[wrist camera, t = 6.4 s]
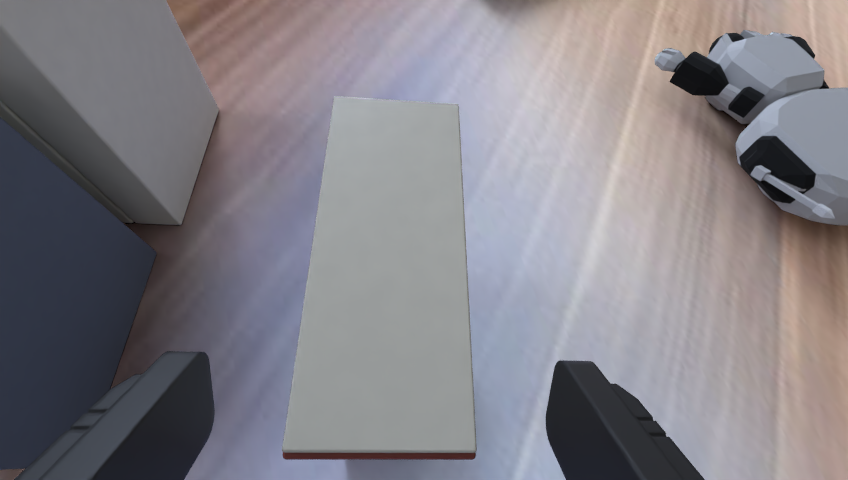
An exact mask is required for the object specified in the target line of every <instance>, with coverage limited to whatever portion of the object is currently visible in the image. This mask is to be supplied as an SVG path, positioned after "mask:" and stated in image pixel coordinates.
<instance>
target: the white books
mask: <svg viewBox="0 0 848 480" xmlns="http://www.w3.org/2000/svg"><path fill="white" fill-rule="evenodd" d="M218 111H219V108H218V106H217V104H216V102H215V100H214V98H213V96H212V94H211V91H210V89H209V87H208V85H207V83H206V81H205V79H204V77H203V75H202V73H201V71H200V69H199V67H198V65H197V63H196V61H195V59H194V57H193V55H192V53H191V51H190V49H189V47H188V44H187V42H186V40H185V38H184V36H183V34H182V32H181V30H180V28H179V26H178V24H177V22H176V20H175V18H174V16H173V14H172V12H171V10H170V8H169V6H168V4H167V2H166V0H0V117H1V118H2V119H3V120H5V121H6V122H7V123H8V124H9V125H10V126H11V127H13V128H14V129H15V130H16V131H17V132H18V133H20V134H21V135H22V136H23V137H24V138H25V139H26V140H28V141H29V142H30V143H31V144H32V145H33V146H35V147H36V148H37V149H38V150H39V151H40V152H41V153H43V154H44V155H45V156H46V157H47V158H48V159H50V160H51V161H52V162H53V163H54V164H55V165H56V166H58V167H59V168H60V169H61V170H62V171H63V172H65V173H66V174H67V175H68V176H69V177H70V178H72V179H73V180H74V181H75V182H76V183H77V184H78V185H80V186H81V187H82V188H83V189H84V190H85V191H87V192H88V193H89V194H90V195H91V196H92V197H93V198H95V199H96V200H97V201H98V202H99V203H100V204H102V205H103V206H104V207H105V208H106V209H107V210H108V211H110V212H111V213H112V214H113V215H114V216H115V217H117V218H118V219H119V220H120V221H121V222H122V223H133V222H136V223H141V224H165V225H181V224H182V221H183V218H184V215H185V212H186V209H187V206H188V203H189V200H190V197H191V194H192V191H193V187H194V184H195V181H196V178H197V175H198V172H199V169H200V166H201V163H202V160H203V157H204V154H205V151H206V148H207V145H208V142H209V139H210V135H211V132H212V129H213V126H214V123H215V120H216V117H217V114H218Z"/></svg>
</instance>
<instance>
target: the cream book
mask: <svg viewBox="0 0 848 480" xmlns="http://www.w3.org/2000/svg"><path fill="white" fill-rule="evenodd" d="M476 450H477V448H476V429H475V410H474V391H473V372H472V352H471V333H470V314H469V295H468V276H467V256H466V237H465V218H464V199H463V180H462V160H461V141H460V122H459V106H458V104H448V103H433V102H417V101H402V100H387V99H371V98H356V97H341V96H335V97H334V100H333V107H332V114H331V121H330V127H329V134H328V141H327V148H326V154H325V161H324V168H323V175H322V182H321V188H320V195H319V202H318V209H317V215H316V222H315V229H314V236H313V242H312V249H311V256H310V263H309V270H308V276H307V283H306V290H305V297H304V303H303V310H302V317H301V324H300V331H299V337H298V344H297V351H296V358H295V364H294V371H293V378H292V385H291V392H290V398H289V405H288V412H287V419H286V425H285V432H284V439H283V446H282V451H283V458H284V459H444V460H472V459H474V458H475V456H476V454H475V452H476Z"/></svg>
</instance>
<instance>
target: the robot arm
mask: <svg viewBox="0 0 848 480" xmlns="http://www.w3.org/2000/svg"><path fill="white" fill-rule="evenodd" d="M213 422H214V400H213V391H212V383H211V374H210V365H209V359H208V356H207V354H206V353H205V352H184V351H167V352H165V353H164V354H162V355H161V356H160V357H159V358H158V359H157V360H156V361H155V362H154V363H153V364H152V365H151V366H150V367H149V368H148V369H147V370H146V371H145V372H144V373H143V374H136V375H134V376H132V377H131V378H129V379H127V380H125V381H124V382H122V383H120V384H119V385H117V386H115V387H113V388H112V389H110V390H108V391H107V392H106V393H105V394H104V395H103V396H102V397H101V398H100V399H99V400H98V401H97V402H96V403H95V404H94V405H93V406H91V407H90V408H89V409H88V413H84V414H83V415H82V416H81V417H80V418H79V419H78V420H77V421H76V422H74V423H73V424H72V425H71V428H70V430H69V431H65V432H64V433H63V434H62V435H61V436H60V437H59V438H58V439H56V440H55V441H54V442H53V443H52V444H51V445H50V446H49V447H48V448H47V449H46V450H45V451H44V452H43V453H42V454H41V455H39V456H38V457H37V458H36V459H35V460H34V461H33V462H32V463H31V464H30V465H29V466H28V467H27V468H26V469H25V470H24V471H23V472H21V473H20V474H19V475H18V476H17V477H16V478H15V479H14V480H184V479H185V477H186V475H187V474H188V472H189V470H190V468H191V467H192V465H193V463H194V462H195V460H196V458H197V457H198V455H199V453H200V452H201V450H202V448H203V447H204V445H205V443H206V442H207V440H208V438H209V435H210V433H211V430H212V426H213ZM546 430H547V436H548V440H549V443H550V445H551V447H552V449H553V452H554V454H555V456H556V458H557V461H558V463H559V465H560V467H561V469H562V472H563V474H564V476H565V478H566V480H704V478H703V477H702V476H701V475H700V474H699V472H698V471H697V470H696V469H695V468H694V466H693V465H692V464H691V463H690V462H689V460H688V459H687V458H686V457H685V455H684V454H683V453H682V452H681V451H680V449H679V448H678V447H677V446H676V445H675V443H674V442H673V441H672V440H671V439H670V437H666V433H665V431H664V430H663V429H662V428H661V427H660V425H659V424H658V423H657V422H656V421H653V417H652V416H651V415H650V413H649V412H648V411H647V410H646V409H645V407H644V406H643V405H642V404H641V403H640V401H639V400H638V399H637V398H635V397H634V396H633V395H631V394H630V393H628V392H627V391H626V390H624V389H623V388H621V387H620V386H619V385H617V384H610V383H609V381H608V380H607V379H606V378H605V376H604V375H603V374H602V372H601V371H600V370H599V369H598V367H597V366H596V365H595V364H594V363H593V362H591V361H558V362H557V363H556V365H555V369H554V374H553V379H552V385H551V390H550V396H549V401H548V406H547V412H546Z"/></svg>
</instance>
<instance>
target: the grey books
mask: <svg viewBox="0 0 848 480" xmlns="http://www.w3.org/2000/svg"><path fill="white" fill-rule="evenodd" d="M156 254H157V252H156V251H155V250H154V249H152V248H151V247H150V246H149V245H148V244H147V243H145V242H144V241H143V240H142V239H141V238H140V237H139V236H137V235H136V234H135V233H134V232H133V231H132V230H130V229H129V228H128V227H127V226H126V225H125V224H123V223H122V222H121V221H120V220H119V219H118V218H117V217H115V216H114V215H113V214H112V213H111V212H110V211H108V210H107V209H106V208H105V207H104V206H103V205H102V204H100V203H99V202H98V201H97V200H96V199H95V198H93V197H92V196H91V195H90V194H89V193H88V192H87V191H85V190H84V189H83V188H82V187H81V186H80V185H78V184H77V183H76V182H75V181H74V180H73V179H72V178H70V177H69V176H68V175H67V174H66V173H65V172H63V171H62V170H61V169H60V168H59V167H58V166H56V165H55V164H54V163H53V162H52V161H51V160H50V159H48V158H47V157H46V156H45V155H44V154H43V153H41V152H40V151H39V150H38V149H37V148H36V147H35V146H33V145H32V144H31V143H30V142H29V141H28V140H26V139H25V138H24V137H23V136H22V135H21V134H20V133H18V132H17V131H16V130H15V129H14V128H13V127H11V126H10V125H9V124H8V123H7V122H6V121H5V120H3V119H2V118H1V117H0V470H4V469H25V468H27V467H28V466H29V465H30V464H31V463H32V462H33V461H34V460H35V459H36V458H37V457H38V456H39V455H41V454H42V453H43V452H44V451H45V450H46V449H47V448H48V447H49V446H50V445H51V444H52V443H53V442H54V441H55V440H56V439H58V438H59V437H60V436H61V435H62V434H63V433H64V432H65V431H69V430H70V428H71V425H72V424H73V423H74V422H76V421H77V420H78V419H79V418H80V417H81V416H82V415H83V414H84V413H88V409H89V408H90V407H91V406H93V405H94V404H95V403H96V402H97V401H98V400H99V399H100V398H101V397H102V396H103V395H104V394H105V393H106V392H107V391H108V390H110V387H111V384H112V381H113V378H114V375H115V372H116V369H117V367H118V364H119V361H120V358H121V355H122V352H123V349H124V346H125V343H126V341H127V338H128V335H129V332H130V329H131V326H132V323H133V320H134V318H135V315H136V312H137V309H138V306H139V303H140V300H141V297H142V294H143V292H144V289H145V286H146V283H147V280H148V277H149V274H150V271H151V268H152V266H153V263H154V260H155V257H156Z"/></svg>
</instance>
